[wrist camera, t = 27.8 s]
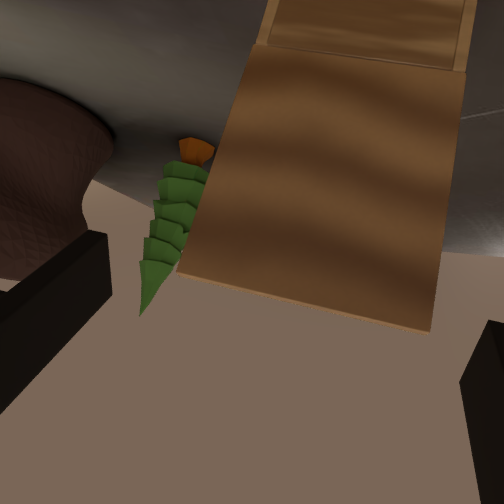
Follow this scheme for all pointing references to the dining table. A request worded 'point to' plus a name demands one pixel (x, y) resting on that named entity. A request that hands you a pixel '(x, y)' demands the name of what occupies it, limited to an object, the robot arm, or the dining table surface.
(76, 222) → the vase
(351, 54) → the chest
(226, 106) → the dining table surface
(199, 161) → the decorative tree
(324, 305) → the lid
